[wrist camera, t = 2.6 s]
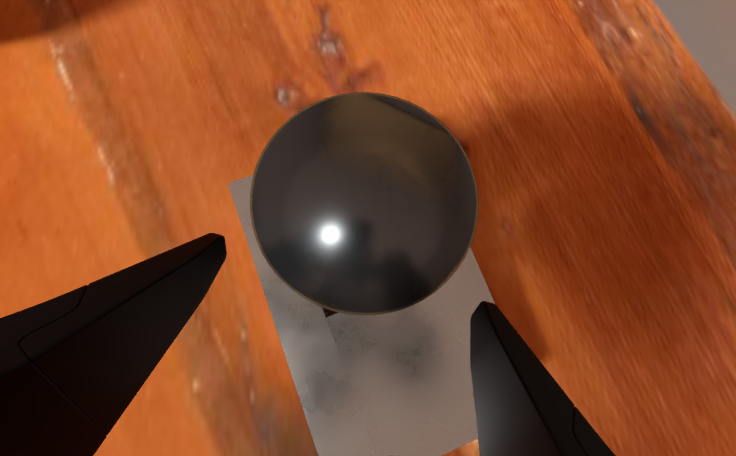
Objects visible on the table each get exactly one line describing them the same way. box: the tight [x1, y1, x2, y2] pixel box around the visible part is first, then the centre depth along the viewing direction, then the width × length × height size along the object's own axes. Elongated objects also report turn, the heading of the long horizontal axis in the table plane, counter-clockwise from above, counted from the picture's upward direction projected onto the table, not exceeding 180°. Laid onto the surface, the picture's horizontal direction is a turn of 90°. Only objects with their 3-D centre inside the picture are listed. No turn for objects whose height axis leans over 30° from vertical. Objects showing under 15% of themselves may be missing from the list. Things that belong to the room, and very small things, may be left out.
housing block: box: [228, 175, 495, 456], centre depth 17 cm, size 12×18×3 cm, turn 21°
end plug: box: [250, 92, 479, 316], centre depth 13 cm, size 5×5×13 cm
